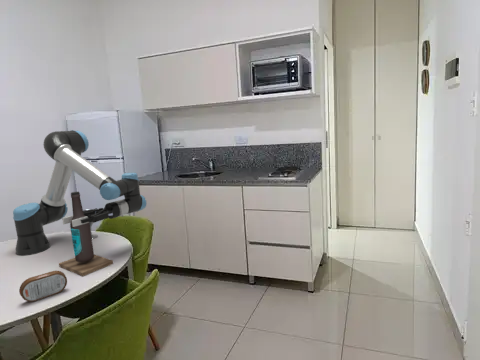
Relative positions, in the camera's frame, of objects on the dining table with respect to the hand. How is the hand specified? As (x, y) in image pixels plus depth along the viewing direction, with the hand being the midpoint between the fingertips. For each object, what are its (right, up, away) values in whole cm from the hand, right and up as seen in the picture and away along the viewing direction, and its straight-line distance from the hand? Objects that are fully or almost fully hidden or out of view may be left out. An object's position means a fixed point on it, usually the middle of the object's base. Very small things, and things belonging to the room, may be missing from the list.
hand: (67, 222), depth 142 cm
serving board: (+4, -20, +7) cm, 22 cm away
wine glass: (-11, -14, +47) cm, 50 cm away
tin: (+2, -25, -19) cm, 31 cm away
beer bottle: (+4, -17, +7) cm, 19 cm away
